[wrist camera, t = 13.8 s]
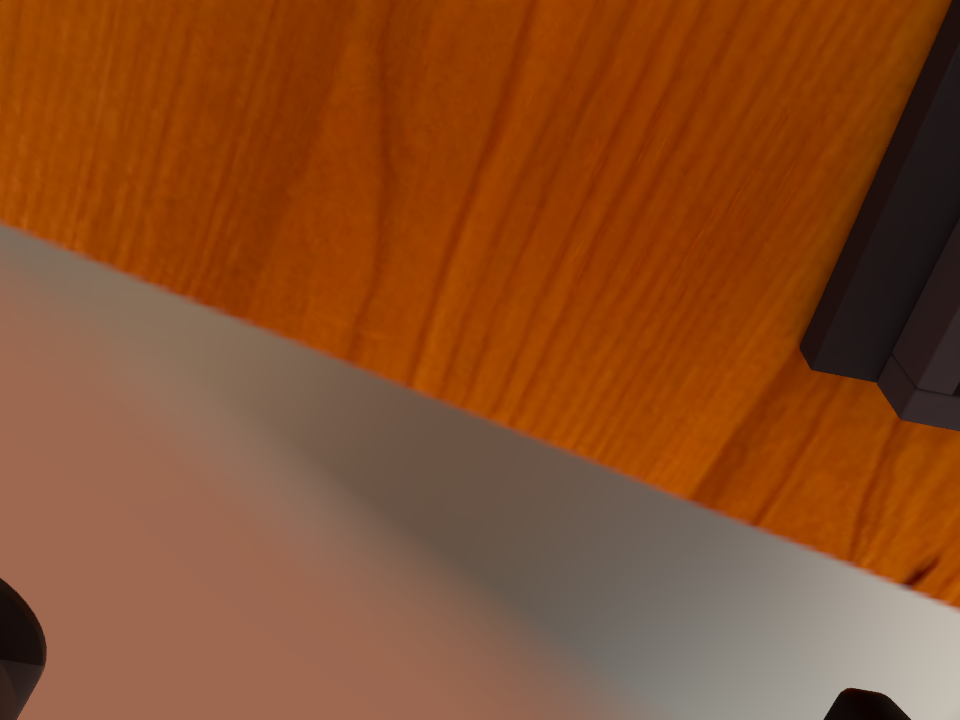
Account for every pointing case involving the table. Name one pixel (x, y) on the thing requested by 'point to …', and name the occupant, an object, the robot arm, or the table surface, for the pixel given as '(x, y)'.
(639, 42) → the table surface
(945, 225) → the dark gray square tray
